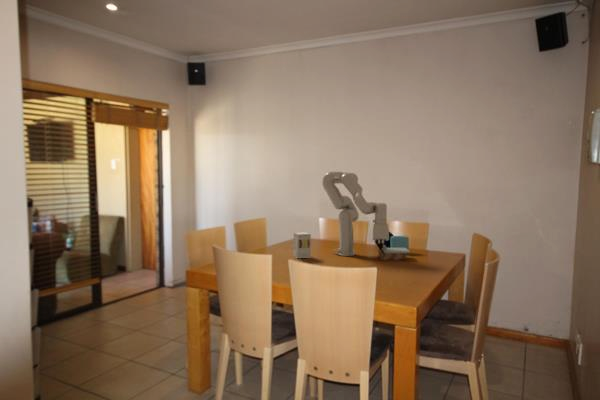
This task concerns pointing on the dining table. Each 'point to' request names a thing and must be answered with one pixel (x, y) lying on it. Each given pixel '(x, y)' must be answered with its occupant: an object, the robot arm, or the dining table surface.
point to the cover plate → (395, 250)
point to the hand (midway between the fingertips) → (380, 249)
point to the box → (391, 256)
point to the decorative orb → (386, 243)
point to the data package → (399, 242)
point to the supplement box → (302, 245)
